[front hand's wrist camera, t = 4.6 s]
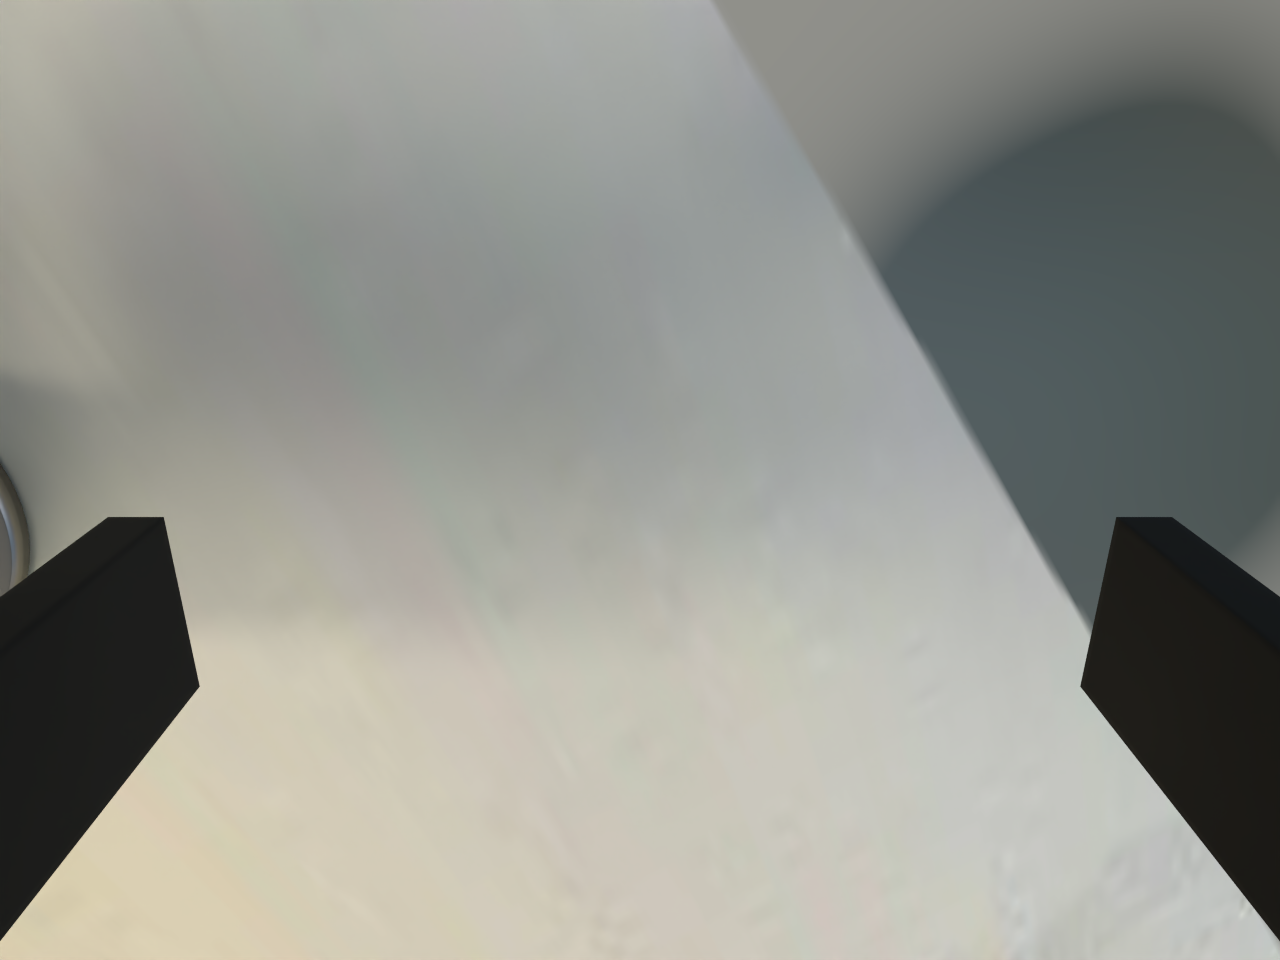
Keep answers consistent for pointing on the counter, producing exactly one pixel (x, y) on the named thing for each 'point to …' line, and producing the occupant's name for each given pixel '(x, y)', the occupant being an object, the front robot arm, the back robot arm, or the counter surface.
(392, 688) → the counter surface
